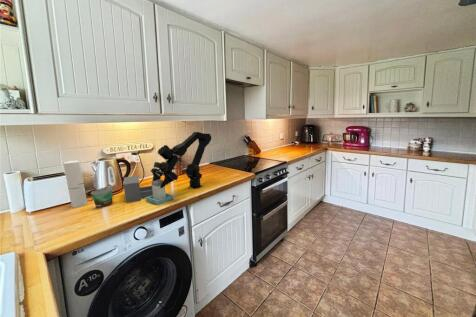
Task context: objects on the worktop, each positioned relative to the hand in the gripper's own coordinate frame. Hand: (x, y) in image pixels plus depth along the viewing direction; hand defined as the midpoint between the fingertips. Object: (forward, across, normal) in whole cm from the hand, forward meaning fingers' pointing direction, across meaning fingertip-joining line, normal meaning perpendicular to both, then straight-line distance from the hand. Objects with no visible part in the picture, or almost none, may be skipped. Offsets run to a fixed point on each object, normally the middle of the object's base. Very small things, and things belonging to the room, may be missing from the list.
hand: (156, 186), depth 123 cm
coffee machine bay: (+6, -17, +6) cm, 19 cm away
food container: (+19, -21, -7) cm, 29 cm away
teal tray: (+5, 0, +7) cm, 9 cm away
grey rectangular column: (+25, -34, -13) cm, 45 cm away
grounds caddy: (+5, 0, +7) cm, 8 cm away
